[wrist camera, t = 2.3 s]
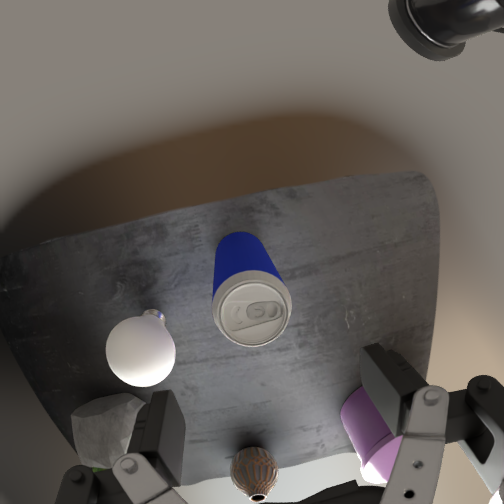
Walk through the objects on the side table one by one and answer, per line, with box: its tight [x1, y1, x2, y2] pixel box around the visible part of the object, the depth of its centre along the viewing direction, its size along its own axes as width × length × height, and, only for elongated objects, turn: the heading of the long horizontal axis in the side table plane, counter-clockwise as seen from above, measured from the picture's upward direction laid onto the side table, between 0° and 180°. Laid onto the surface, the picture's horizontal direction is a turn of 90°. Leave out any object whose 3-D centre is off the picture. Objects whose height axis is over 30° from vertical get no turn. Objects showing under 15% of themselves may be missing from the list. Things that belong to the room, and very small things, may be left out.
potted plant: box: [71, 393, 146, 472], centre depth 33 cm, size 12×13×15 cm
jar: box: [340, 386, 403, 483], centre depth 36 cm, size 11×11×12 cm
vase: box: [230, 447, 278, 502], centre depth 38 cm, size 7×7×9 cm
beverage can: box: [212, 232, 292, 347], centre depth 27 cm, size 5×5×15 cm
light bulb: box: [106, 309, 175, 387], centre depth 30 cm, size 7×7×11 cm
